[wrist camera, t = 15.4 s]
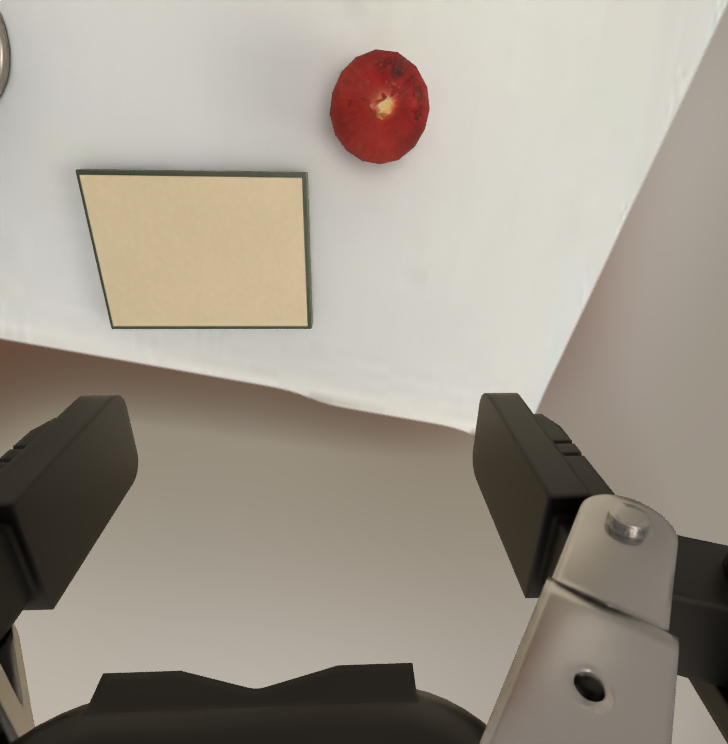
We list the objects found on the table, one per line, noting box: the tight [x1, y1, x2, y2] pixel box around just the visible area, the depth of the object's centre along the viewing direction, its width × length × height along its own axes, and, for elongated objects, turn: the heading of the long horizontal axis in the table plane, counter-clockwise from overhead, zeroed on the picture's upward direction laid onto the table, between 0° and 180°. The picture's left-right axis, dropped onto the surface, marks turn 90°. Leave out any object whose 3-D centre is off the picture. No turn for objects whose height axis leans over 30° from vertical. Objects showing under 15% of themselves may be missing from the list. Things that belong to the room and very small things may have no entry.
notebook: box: [76, 169, 313, 329], centre depth 34 cm, size 15×11×2 cm
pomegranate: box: [330, 50, 429, 164], centre depth 27 cm, size 6×6×8 cm
